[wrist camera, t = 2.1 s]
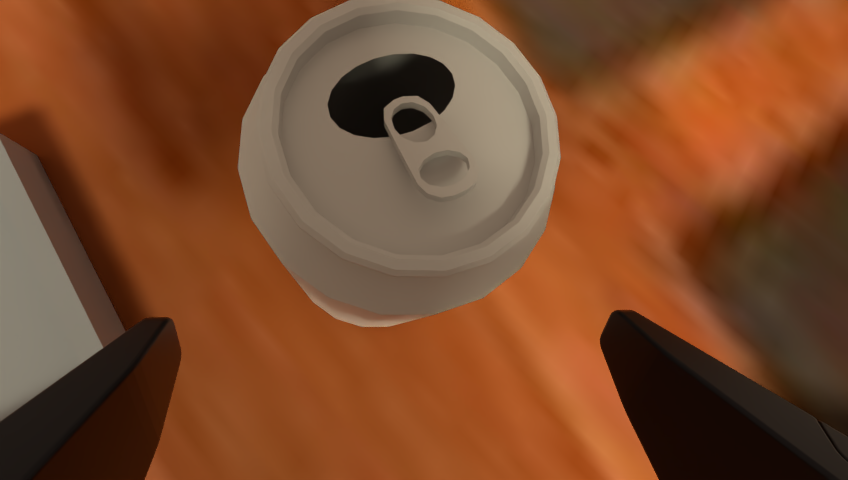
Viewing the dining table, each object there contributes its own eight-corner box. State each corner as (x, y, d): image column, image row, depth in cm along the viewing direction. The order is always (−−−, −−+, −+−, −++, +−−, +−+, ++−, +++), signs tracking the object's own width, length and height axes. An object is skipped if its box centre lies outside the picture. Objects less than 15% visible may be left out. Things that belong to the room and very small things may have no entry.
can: (408, 151, 21) (487, -74, 10) (478, 283, 20) (657, 209, 9) (265, 209, 19) (148, 12, 8) (335, 359, 18) (323, 393, 7)
